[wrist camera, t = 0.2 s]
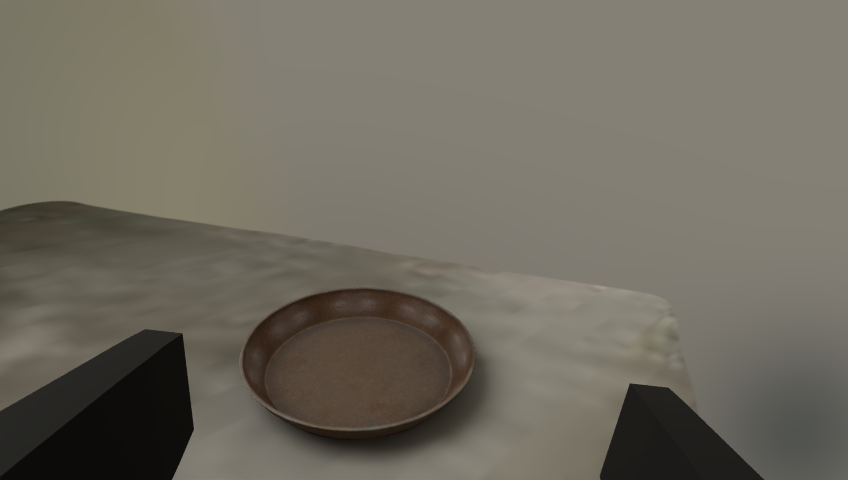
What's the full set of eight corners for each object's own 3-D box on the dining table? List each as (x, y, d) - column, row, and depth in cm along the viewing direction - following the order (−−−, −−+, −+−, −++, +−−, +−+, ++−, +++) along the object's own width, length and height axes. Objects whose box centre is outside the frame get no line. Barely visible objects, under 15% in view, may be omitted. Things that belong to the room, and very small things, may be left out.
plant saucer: (504, 444, 37) (508, 409, 36) (230, 479, 33) (224, 442, 32) (443, 308, 53) (444, 281, 51) (252, 323, 49) (249, 293, 48)
